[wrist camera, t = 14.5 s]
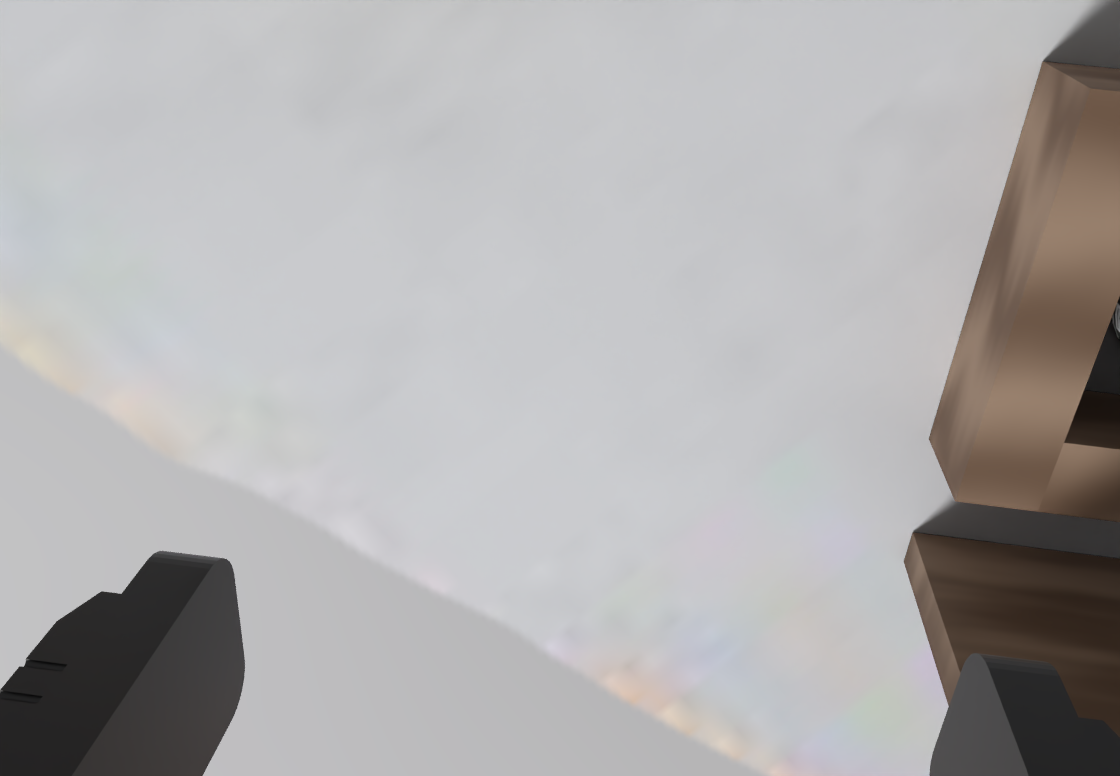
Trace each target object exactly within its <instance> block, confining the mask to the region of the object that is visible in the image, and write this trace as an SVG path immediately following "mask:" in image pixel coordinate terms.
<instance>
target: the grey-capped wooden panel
mask: <svg viewBox="0 0 1120 776" xmlns="http://www.w3.org/2000/svg"><path fill="white" fill-rule="evenodd" d="M904 564H905V567H906V570H907V573H908V577H909V580H910V583H911V586H912V589H913V593H914V596H915V599H916V602H917V606H918V609H919V612H920V615H921V618H922V622H923V625H924V628H925V631H926V635H927V638H928V641H929V644H930V647H931V651H932V654H933V657H934V660H935V663H936V667H937V670H938V673H939V676H940V680H941V683H942V686H943V689H944V692H945V696H946V699H947V702H948V705H950V702H951V699H952V696H953V694H954V691H955V688H956V685H957V682H958V679H959V676H960V673H961V671H962V668H963V665H964V663H965V661H966V660H967V658H968V657H969V656H970V655H971V654H973V653H979V654H987V655H996V656H1004V657H1012V658H1020V659H1028V660H1036V661H1044V662H1048V663H1050V664H1051V665H1052V666H1053V667H1054V668H1055V669H1056V670H1057V672H1058V674H1059V676H1060V678H1061V680H1062V682H1063V684H1064V687H1065V689H1066V691H1067V693H1068V695H1069V698H1070V700H1071V702H1072V704H1073V706H1074V708H1075V711H1076V713H1077V715H1078V717H1080V718H1088V719H1096V720H1103V721H1104V722H1105V723H1106V724H1107V725H1108V726H1109V727H1110V728H1111V729H1112V730H1113V731H1114V732H1115V733H1116V734H1117V735H1118V736H1119V737H1120V559H1117V558H1110V557H1102V556H1094V555H1086V554H1078V553H1070V552H1063V551H1055V550H1047V549H1039V548H1031V547H1024V546H1016V545H1008V544H1000V543H992V542H984V541H977V540H969V539H961V538H953V537H945V536H938V535H930V534H922V533H914V532H913V533H912V537H911V540H910V543H909V546H908V550H907V553H906V556H905V559H904Z"/></svg>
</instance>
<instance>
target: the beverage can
mask: <svg viewBox="0 0 1120 776" xmlns="http://www.w3.org/2000/svg"><path fill="white" fill-rule="evenodd" d="M1112 320H1113V325H1114V328H1115V331H1116V334H1117V337H1118V338H1119V340H1120V297H1119V299H1118V302H1117V305H1116V307H1115V310H1114V313H1113V315H1112Z"/></svg>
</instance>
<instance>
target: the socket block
mask: <svg viewBox="0 0 1120 776" xmlns="http://www.w3.org/2000/svg"><path fill="white" fill-rule="evenodd" d="M1119 297H1120V69H1115V68H1105V67H1095V66H1085V65H1074V64H1064V63H1054V62H1044V61H1043V62H1042V66H1041V69H1040V72H1039V75H1038V79H1037V82H1036V85H1035V89H1034V92H1033V95H1032V99H1031V102H1030V105H1029V109H1028V112H1027V115H1026V119H1025V122H1024V125H1023V129H1022V132H1021V135H1020V138H1019V142H1018V145H1017V148H1016V152H1015V155H1014V158H1013V162H1012V165H1011V168H1010V172H1009V175H1008V178H1007V182H1006V185H1005V188H1004V192H1003V195H1002V198H1001V201H1000V205H999V208H998V211H997V215H996V218H995V221H994V225H993V228H992V231H991V235H990V238H989V241H988V245H987V248H986V251H985V255H984V258H983V261H982V264H981V268H980V271H979V274H978V278H977V281H976V284H975V288H974V291H973V294H972V298H971V301H970V304H969V308H968V311H967V314H966V317H965V321H964V324H963V327H962V331H961V334H960V337H959V341H958V344H957V347H956V351H955V354H954V357H953V361H952V364H951V367H950V371H949V374H948V377H947V380H946V384H945V387H944V390H943V394H942V397H941V400H940V404H939V407H938V410H937V414H936V417H935V420H934V424H933V427H932V430H931V434H930V437H929V440H930V443H931V445H932V447H933V450H934V452H935V454H936V457H937V459H938V462H939V464H940V466H941V469H942V471H943V474H944V476H945V478H946V481H947V483H948V485H949V488H950V490H951V493H952V495H953V497H954V500H955V501H956V502H964V503H972V504H980V505H988V506H996V507H1004V508H1012V509H1020V510H1028V511H1036V512H1044V513H1052V514H1060V515H1068V516H1076V517H1084V518H1092V519H1099V520H1107V521H1115V522H1120V395H1118V394H1110V393H1101V392H1093V391H1084V389H1085V386H1086V384H1087V381H1088V378H1089V376H1090V373H1091V370H1092V368H1093V365H1094V363H1095V360H1096V357H1097V355H1098V352H1099V349H1100V347H1101V344H1102V342H1103V339H1104V336H1105V334H1106V331H1107V328H1108V326H1109V323H1110V320H1111V318H1112V315H1113V313H1114V310H1115V307H1116V305H1117V302H1118V299H1119Z"/></svg>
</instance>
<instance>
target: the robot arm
mask: <svg viewBox="0 0 1120 776" xmlns="http://www.w3.org/2000/svg"><path fill="white" fill-rule="evenodd" d="M244 671H245V660H244V651H243V643H242V634H241V626H240V618H239V610H238V602H237V594H236V586H235V578H234V572H233V568H232V565H231V563H230V562H229V561H228V560H227V559H224V558H215V557H207V556H199V555H191V554H182V553H175V552H167V551H159V552H157V553H154V554H153V555H152V556H151V557H150V558H149V559H148V560H147V561H146V563H145V564H144V565H143V567H142V568H141V569H140V570H139V572H138V573H137V574H136V576H135V577H134V578H133V580H132V581H131V582H130V584H129V585H128V586H127V587H126V589H125V590H124V591H123V593H122V594H117V593H109V592H100V593H99V594H97V595H96V596H94V597H93V598H91V599H90V600H88V601H87V602H85V603H84V604H82V605H81V606H79V607H78V608H76V609H75V610H73V611H72V612H70V613H69V614H67V615H66V616H64V617H63V618H61V619H60V620H58V621H57V622H56V623H55V624H54V625H53V627H52V628H51V629H50V630H49V632H48V633H47V634H46V635H45V636H44V638H43V639H42V640H41V641H40V643H39V644H38V645H37V646H36V647H35V649H34V650H33V651H32V652H31V653H30V655H29V656H28V657H27V658H26V663H25V666H24V667H19V668H18V669H17V670H16V672H15V673H14V674H13V675H12V676H11V678H10V679H9V680H8V681H7V682H6V684H5V685H4V686H3V687H2V688H1V690H0V776H202V775H203V774H204V772H205V770H206V768H207V766H208V764H209V762H210V760H211V758H212V756H213V755H214V753H215V751H216V749H217V747H218V745H219V743H220V741H221V739H222V737H223V736H224V734H225V732H226V730H227V728H228V726H229V724H230V722H231V720H232V718H233V716H234V714H235V711H236V709H237V706H238V703H239V700H240V696H241V692H242V686H243V681H244ZM930 776H1120V737H1119V736H1118V735H1117V734H1116V733H1115V732H1114V731H1113V730H1112V729H1111V728H1110V727H1109V726H1108V725H1107V724H1106V723H1105V722H1104V721H1103V720H1096V719H1088V718H1080V717H1078V715H1077V713H1076V711H1075V708H1074V706H1073V704H1072V702H1071V700H1070V698H1069V695H1068V693H1067V691H1066V689H1065V687H1064V684H1063V682H1062V680H1061V678H1060V676H1059V674H1058V672H1057V670H1056V669H1055V668H1054V667H1053V666H1052V665H1051V664H1050V663H1048V662H1044V661H1036V660H1028V659H1020V658H1012V657H1004V656H996V655H987V654H979V653H973V654H971V655H970V656H969V657H968V658H967V660H966V661H965V663H964V665H963V668H962V671H961V673H960V676H959V679H958V682H957V685H956V688H955V691H954V694H953V696H952V699H951V702H950V705H949V708H948V711H947V714H946V716H945V719H944V722H943V725H942V728H941V731H940V734H939V737H938V739H937V742H936V745H935V748H934V751H933V755H932V760H931V766H930Z"/></svg>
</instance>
